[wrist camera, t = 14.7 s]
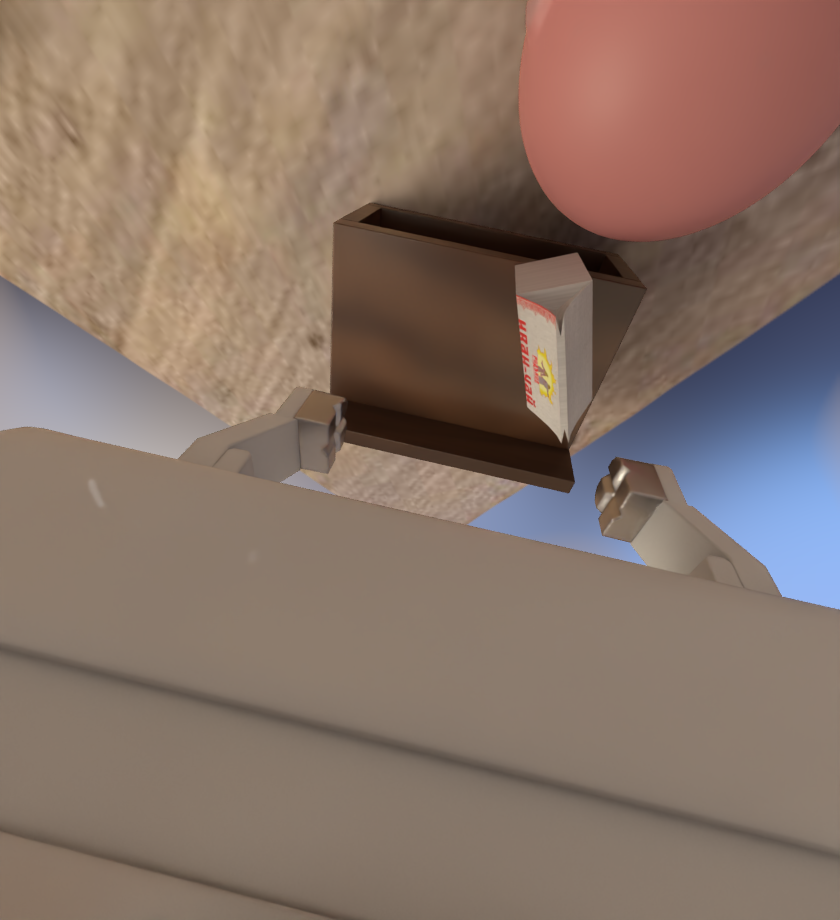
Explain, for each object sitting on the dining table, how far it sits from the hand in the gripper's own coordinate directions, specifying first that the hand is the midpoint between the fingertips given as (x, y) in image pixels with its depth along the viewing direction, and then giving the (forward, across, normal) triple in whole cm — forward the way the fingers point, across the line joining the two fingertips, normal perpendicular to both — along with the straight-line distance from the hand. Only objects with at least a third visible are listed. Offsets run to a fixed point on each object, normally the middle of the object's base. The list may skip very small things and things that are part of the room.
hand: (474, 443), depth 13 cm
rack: (+27, +1, +6) cm, 28 cm away
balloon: (+28, -4, -12) cm, 30 cm away
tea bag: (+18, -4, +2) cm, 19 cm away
